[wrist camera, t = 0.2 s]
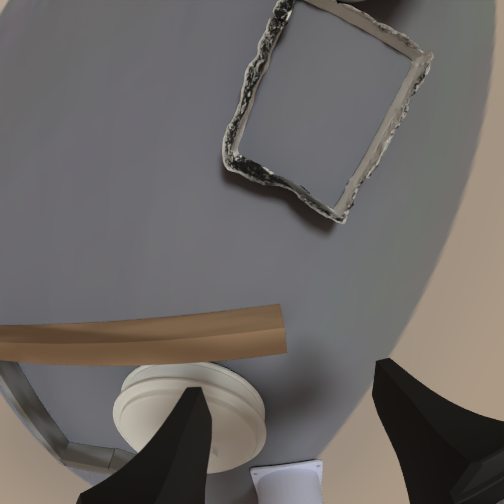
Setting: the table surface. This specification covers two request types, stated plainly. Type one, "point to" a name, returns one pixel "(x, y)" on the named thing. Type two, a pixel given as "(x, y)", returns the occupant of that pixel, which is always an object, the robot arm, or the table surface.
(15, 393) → the u-shaped bar frame
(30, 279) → the table surface
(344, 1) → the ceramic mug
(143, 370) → the lid
